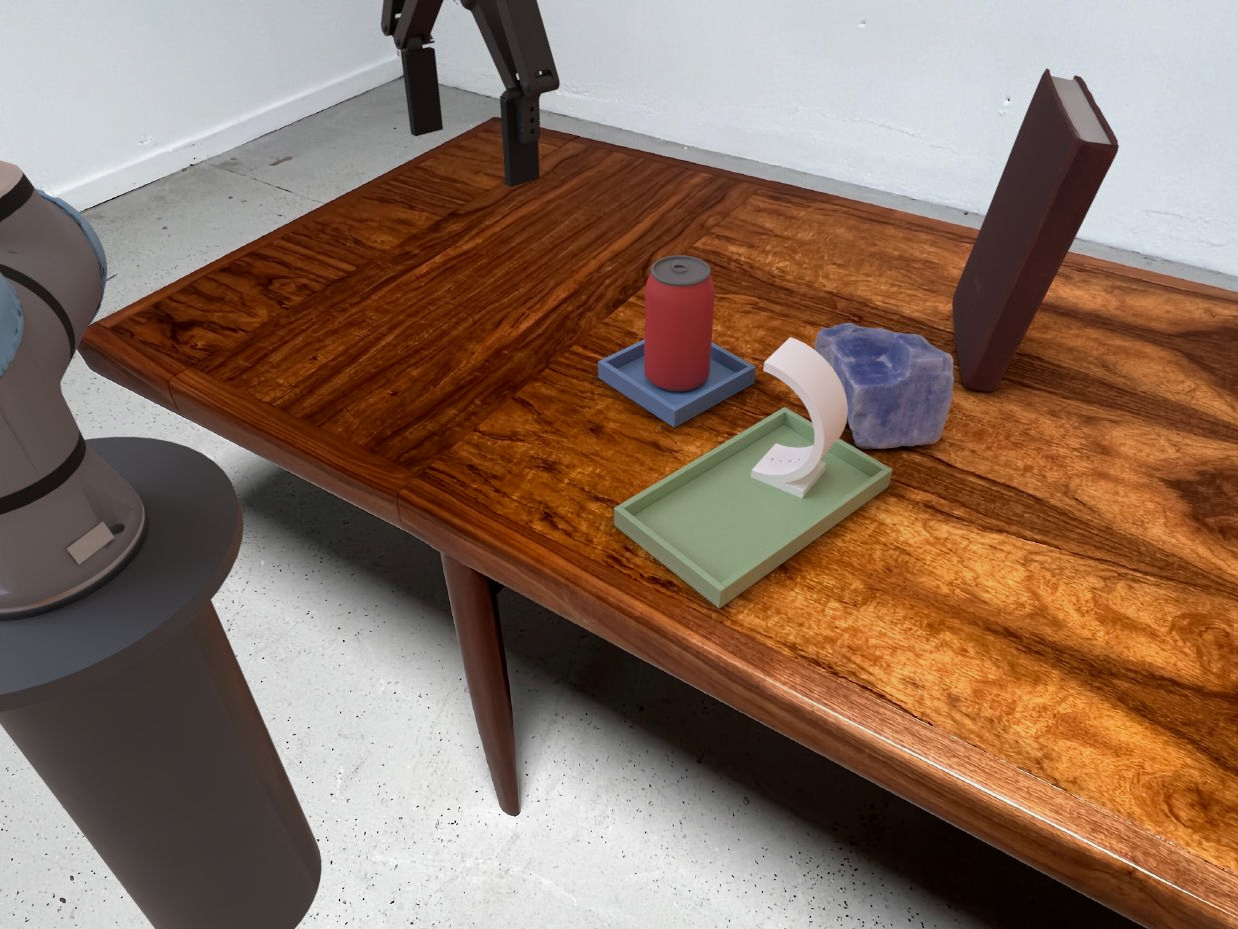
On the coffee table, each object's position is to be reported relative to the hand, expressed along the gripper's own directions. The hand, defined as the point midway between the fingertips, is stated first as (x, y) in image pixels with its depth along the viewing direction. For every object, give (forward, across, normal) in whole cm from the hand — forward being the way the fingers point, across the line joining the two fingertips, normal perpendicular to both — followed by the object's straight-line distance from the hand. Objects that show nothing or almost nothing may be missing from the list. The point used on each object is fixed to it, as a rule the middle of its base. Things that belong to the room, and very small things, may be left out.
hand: (472, 155), depth 73 cm
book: (+24, -27, -44) cm, 57 cm away
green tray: (+24, -27, -8) cm, 37 cm away
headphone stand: (+24, -27, -13) cm, 38 cm away
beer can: (+24, -9, -16) cm, 30 cm away
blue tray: (+24, -9, -16) cm, 30 cm away
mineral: (+24, -25, -27) cm, 44 cm away
